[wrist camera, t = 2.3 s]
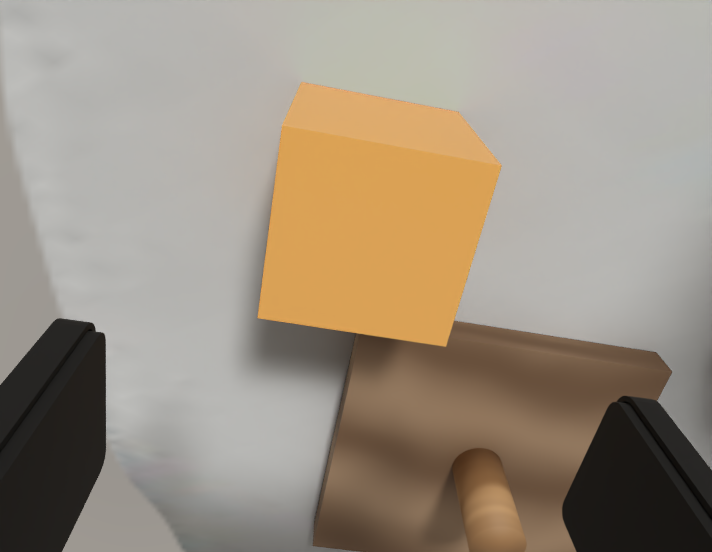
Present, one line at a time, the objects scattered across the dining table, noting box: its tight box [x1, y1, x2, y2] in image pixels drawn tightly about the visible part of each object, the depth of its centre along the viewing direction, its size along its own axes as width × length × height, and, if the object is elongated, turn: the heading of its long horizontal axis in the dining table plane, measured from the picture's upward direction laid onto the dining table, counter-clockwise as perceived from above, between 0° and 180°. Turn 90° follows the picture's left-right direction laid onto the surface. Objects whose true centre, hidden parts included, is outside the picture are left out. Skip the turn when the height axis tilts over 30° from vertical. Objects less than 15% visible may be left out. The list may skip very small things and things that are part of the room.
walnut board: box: [313, 321, 672, 552], centre depth 27 cm, size 14×14×6 cm
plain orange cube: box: [258, 82, 502, 347], centre depth 20 cm, size 6×6×7 cm
